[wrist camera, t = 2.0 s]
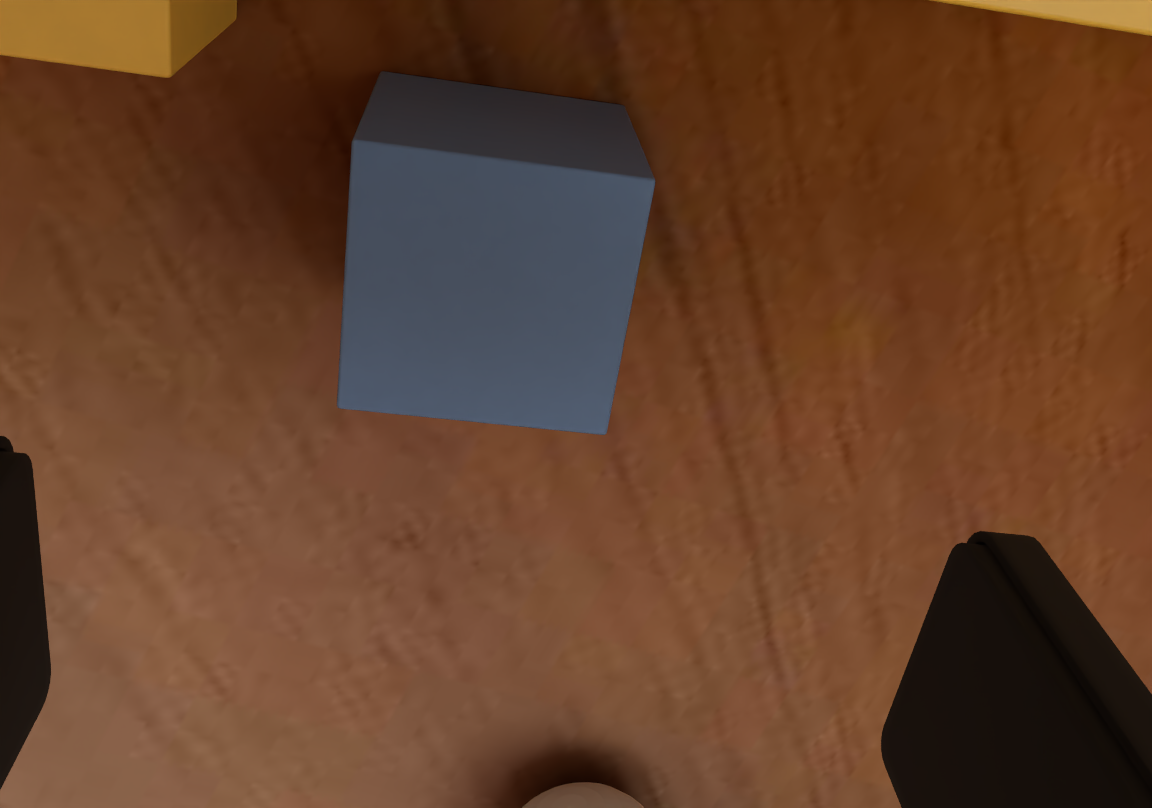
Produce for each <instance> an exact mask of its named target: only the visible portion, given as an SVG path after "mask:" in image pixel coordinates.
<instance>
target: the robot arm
mask: <svg viewBox="0 0 1152 808" xmlns="http://www.w3.org/2000/svg"><path fill="white" fill-rule="evenodd" d="M50 676H51V663H50V652H49V641H48V630H47V619H46V608H45V598H44V587H43V576H42V565H41V554H40V543H39V533H38V522H37V511H36V500H35V489H34V478H33V468H32V463H31V460H30V458H29V456H28V455H27V454H25V453H15V452H14V451H13V447H12V445H11V442H10V440H9V439H7V438H6V437H5V436H0V789H1V787H2V785H3V783H4V781H5V779H6V777H7V775H8V774H9V772H10V770H11V768H12V766H13V764H14V762H15V760H16V758H17V756H18V754H19V752H20V750H21V748H22V746H23V744H24V742H25V740H26V738H27V737H28V735H29V733H30V731H31V729H32V727H33V725H34V723H35V721H36V719H37V717H38V715H39V713H40V711H41V709H42V707H43V705H44V702H45V700H46V697H47V693H48V689H49V684H50ZM881 751H882V758H883V761H884V765H885V767H886V770H887V772H888V775H889V777H890V780H891V782H892V785H893V787H894V790H895V792H896V795H897V797H898V799H899V802H900V804H901V807H902V808H1152V694H1151V693H1150V692H1149V690H1148V689H1147V687H1146V686H1145V685H1144V683H1143V682H1142V681H1141V679H1140V678H1139V677H1138V675H1137V674H1136V673H1135V671H1134V670H1133V669H1132V667H1131V666H1130V664H1129V663H1128V662H1127V660H1126V659H1125V658H1124V656H1123V655H1122V654H1121V652H1120V651H1119V650H1118V648H1117V647H1116V645H1115V644H1114V643H1113V641H1112V640H1111V639H1110V637H1109V636H1108V635H1107V633H1106V632H1105V631H1104V629H1103V628H1102V627H1101V625H1100V624H1099V622H1098V621H1097V620H1096V618H1095V617H1094V616H1093V614H1092V613H1091V612H1090V610H1089V609H1088V608H1087V606H1086V605H1085V604H1084V602H1083V601H1082V599H1081V598H1080V597H1079V595H1078V594H1077V593H1076V591H1075V590H1074V589H1073V587H1072V586H1071V585H1070V583H1069V582H1068V580H1067V579H1066V578H1065V576H1064V575H1063V574H1062V572H1061V571H1060V570H1059V568H1058V567H1057V566H1056V564H1055V563H1054V562H1053V560H1052V559H1051V557H1050V556H1049V555H1048V553H1047V552H1046V551H1045V549H1044V548H1043V547H1042V545H1041V544H1040V543H1039V542H1038V541H1037V540H1036V539H1035V538H1034V537H1030V536H1025V535H1015V534H1005V533H995V532H984V531H979V532H977V533H974V534H973V535H972V536H971V537H970V538H969V539H968V541H967V543H960V544H957V545H956V546H955V547H954V548H953V549H952V551H951V553H950V555H949V558H948V560H947V563H946V565H945V568H944V571H943V573H942V576H941V578H940V581H939V584H938V586H937V589H936V591H935V594H934V597H933V599H932V602H931V605H930V607H929V610H928V612H927V615H926V618H925V620H924V623H923V625H922V628H921V631H920V633H919V636H918V638H917V641H916V644H915V646H914V649H913V651H912V654H911V657H910V659H909V662H908V664H907V667H906V670H905V672H904V675H903V677H902V680H901V683H900V685H899V688H898V690H897V693H896V696H895V698H894V701H893V704H892V706H891V709H890V711H889V714H888V717H887V719H886V722H885V724H884V728H883V731H882V738H881Z"/></svg>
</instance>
